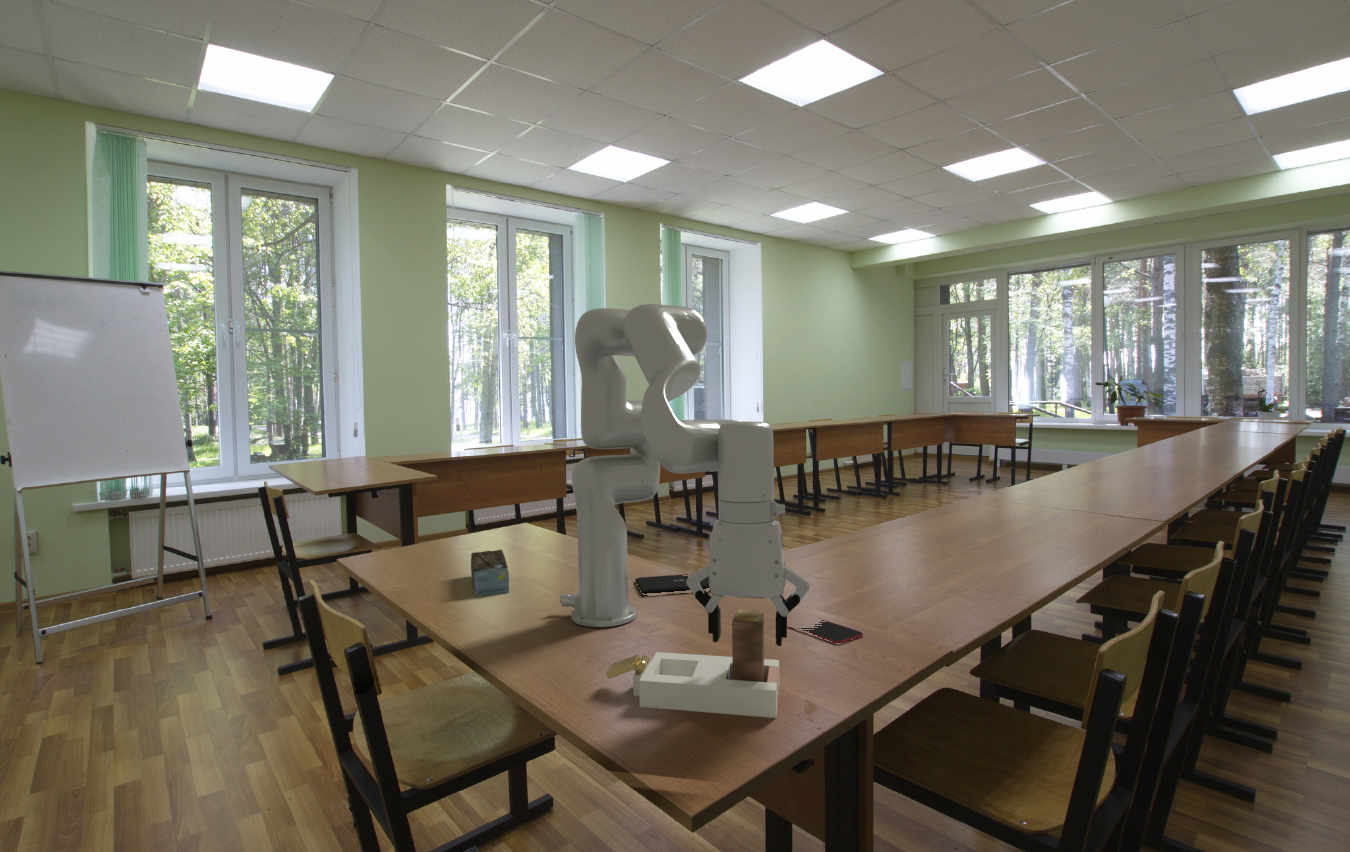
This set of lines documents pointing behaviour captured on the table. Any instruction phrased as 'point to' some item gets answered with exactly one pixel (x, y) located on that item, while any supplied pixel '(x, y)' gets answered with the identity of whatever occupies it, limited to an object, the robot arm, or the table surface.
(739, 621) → the plug
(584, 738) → the table surface
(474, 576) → the beverage carton
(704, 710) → the white socket holder
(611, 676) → the latch tab
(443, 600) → the table surface
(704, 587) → the laptop
